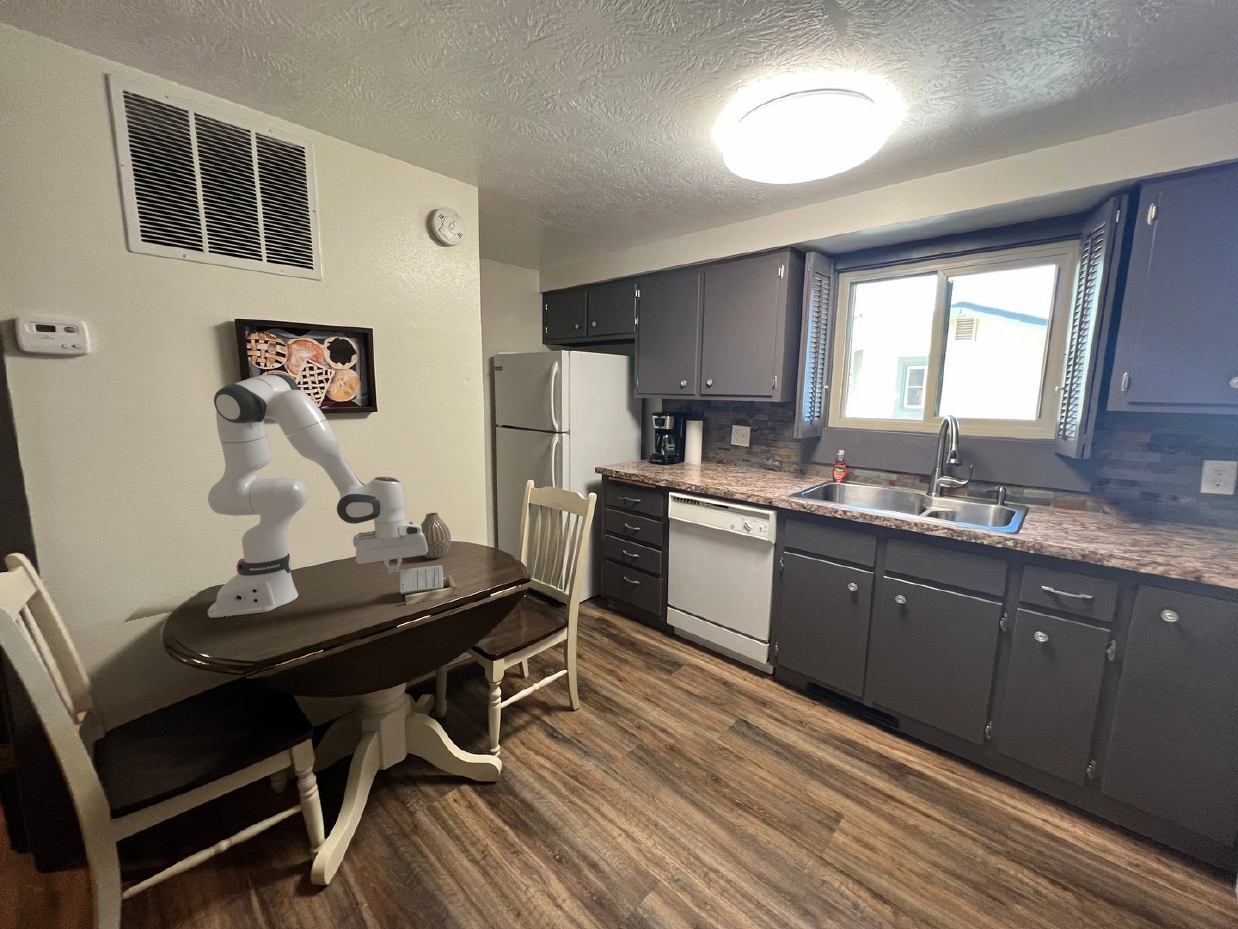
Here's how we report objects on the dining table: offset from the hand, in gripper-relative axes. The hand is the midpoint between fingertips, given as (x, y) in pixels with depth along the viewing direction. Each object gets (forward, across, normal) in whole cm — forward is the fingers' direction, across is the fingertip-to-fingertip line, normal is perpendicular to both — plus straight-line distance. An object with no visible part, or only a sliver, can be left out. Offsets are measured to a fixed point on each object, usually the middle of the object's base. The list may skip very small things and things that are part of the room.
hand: (394, 572), depth 152 cm
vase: (+9, +15, +40) cm, 44 cm away
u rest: (+9, +10, +1) cm, 13 cm away
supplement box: (+4, +2, +2) cm, 5 cm away
